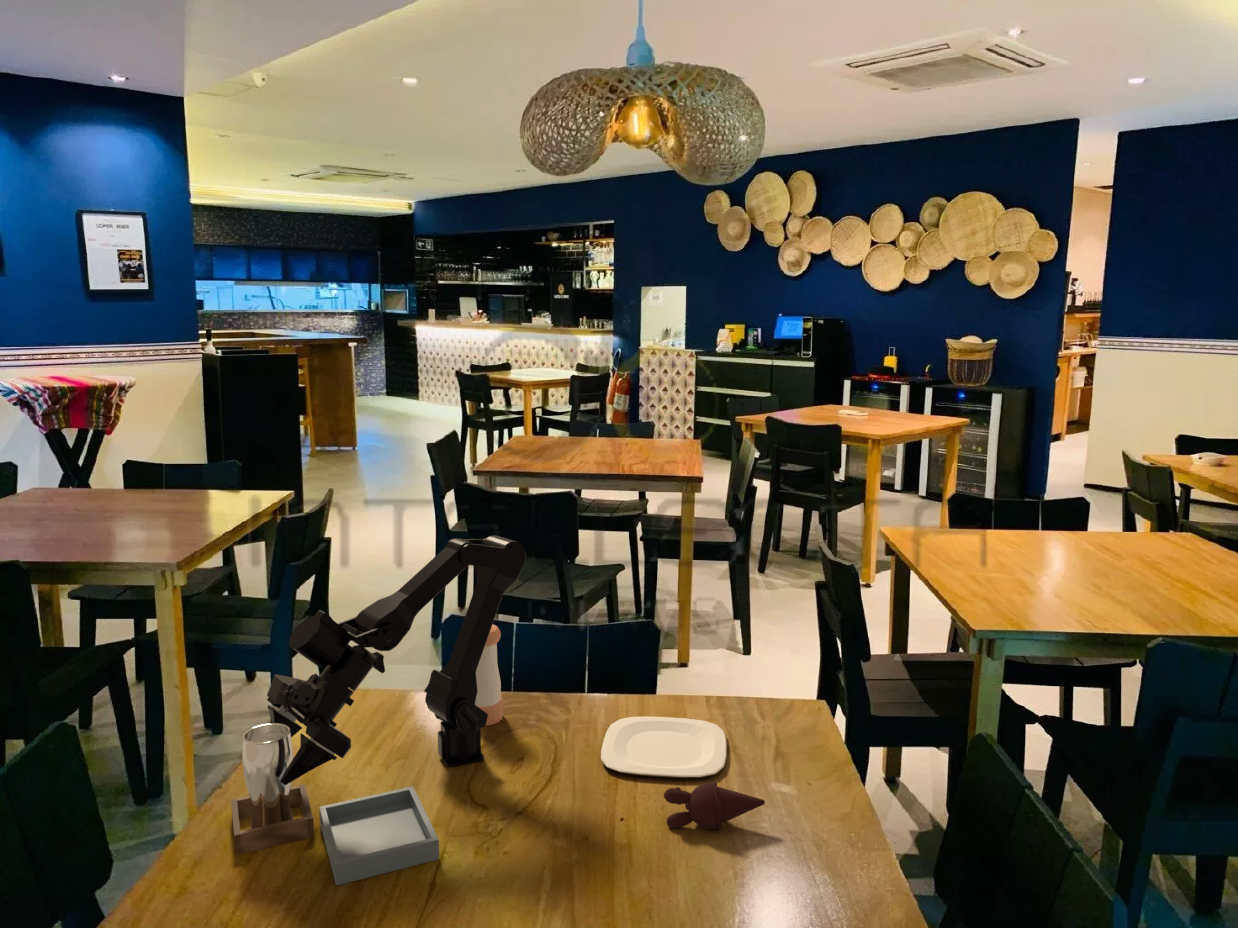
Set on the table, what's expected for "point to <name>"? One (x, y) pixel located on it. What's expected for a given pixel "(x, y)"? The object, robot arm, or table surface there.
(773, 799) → the table surface
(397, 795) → the tray
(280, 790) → the silver metal cup
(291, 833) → the rectangular frame
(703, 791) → the icecream
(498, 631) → the salt shaker
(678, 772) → the plate
